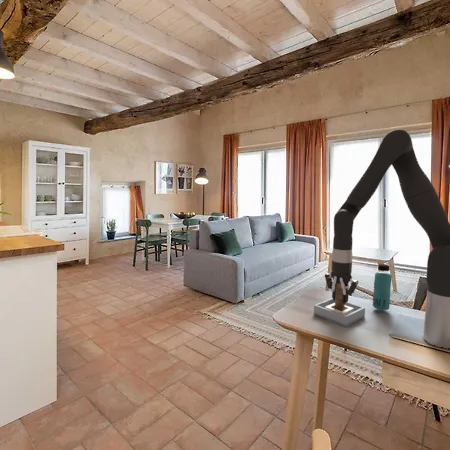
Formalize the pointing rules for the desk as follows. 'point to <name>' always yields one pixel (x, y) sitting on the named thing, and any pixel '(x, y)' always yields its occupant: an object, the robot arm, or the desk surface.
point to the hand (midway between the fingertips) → (339, 301)
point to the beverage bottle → (382, 288)
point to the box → (339, 312)
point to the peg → (339, 297)
